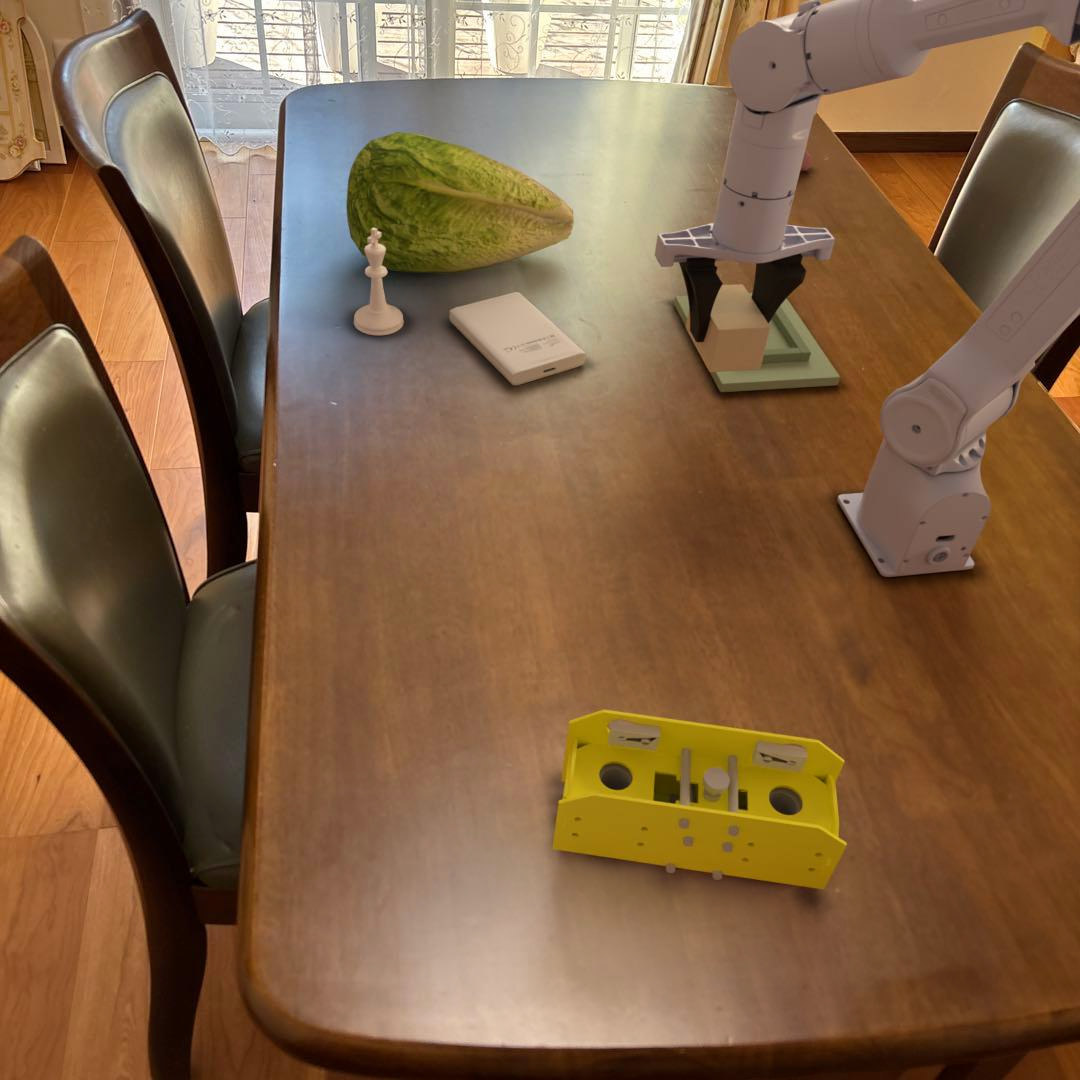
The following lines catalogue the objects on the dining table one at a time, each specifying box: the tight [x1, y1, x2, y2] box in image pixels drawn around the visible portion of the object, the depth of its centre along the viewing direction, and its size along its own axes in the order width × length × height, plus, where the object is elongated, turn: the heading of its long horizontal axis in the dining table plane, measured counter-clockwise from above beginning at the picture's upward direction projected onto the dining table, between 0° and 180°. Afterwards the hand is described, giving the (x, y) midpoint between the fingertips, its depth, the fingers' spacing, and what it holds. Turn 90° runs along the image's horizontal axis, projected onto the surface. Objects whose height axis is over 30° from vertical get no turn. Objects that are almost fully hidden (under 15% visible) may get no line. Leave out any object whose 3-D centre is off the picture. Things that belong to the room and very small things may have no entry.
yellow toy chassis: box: [551, 708, 848, 890], centre depth 59 cm, size 16×6×8 cm, turn 83°
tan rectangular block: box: [685, 283, 771, 373], centre depth 88 cm, size 7×5×4 cm, turn 11°
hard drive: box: [448, 291, 586, 386], centre depth 100 cm, size 2×8×12 cm
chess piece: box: [353, 227, 405, 336], centre depth 99 cm, size 5×5×10 cm
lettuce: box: [346, 131, 575, 275], centre depth 108 cm, size 15×24×14 cm, turn 99°
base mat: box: [673, 292, 841, 393], centre depth 103 cm, size 16×12×2 cm
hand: (725, 334), depth 89 cm, fingers closed on tan rectangular block, 4 cm apart
